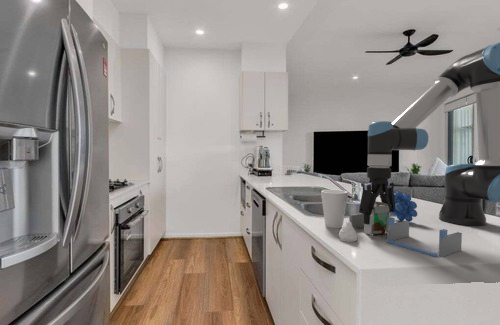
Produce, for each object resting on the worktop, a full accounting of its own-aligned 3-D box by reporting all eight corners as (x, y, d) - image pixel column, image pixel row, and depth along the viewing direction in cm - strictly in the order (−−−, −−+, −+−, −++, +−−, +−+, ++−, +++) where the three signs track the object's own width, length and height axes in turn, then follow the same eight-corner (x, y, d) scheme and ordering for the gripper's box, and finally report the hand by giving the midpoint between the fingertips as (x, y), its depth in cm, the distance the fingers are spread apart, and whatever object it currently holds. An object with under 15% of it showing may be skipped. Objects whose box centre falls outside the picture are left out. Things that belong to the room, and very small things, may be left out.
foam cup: (321, 228, 101) (321, 192, 101) (320, 221, 110) (321, 189, 110) (348, 229, 99) (349, 193, 98) (345, 223, 108) (346, 190, 107)
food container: (394, 238, 90) (395, 207, 89) (374, 237, 91) (375, 206, 90) (382, 227, 102) (383, 200, 102) (365, 226, 103) (365, 200, 103)
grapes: (382, 219, 114) (382, 190, 114) (389, 217, 119) (390, 189, 118) (412, 225, 105) (413, 194, 105) (419, 222, 109) (420, 192, 109)
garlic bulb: (360, 222, 86) (345, 223, 84) (360, 242, 86) (344, 243, 85) (350, 218, 91) (335, 219, 90) (350, 236, 91) (335, 237, 90)
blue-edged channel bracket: (367, 225, 106) (367, 206, 105) (461, 250, 79) (462, 226, 78) (345, 229, 100) (345, 209, 99) (438, 258, 73) (439, 231, 72)
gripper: (388, 165, 104) (386, 225, 105) (348, 166, 93) (346, 233, 94) (408, 166, 97) (406, 230, 98) (367, 168, 87) (365, 239, 88)
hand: (377, 231), depth 96 cm, fingers open, 9 cm apart
